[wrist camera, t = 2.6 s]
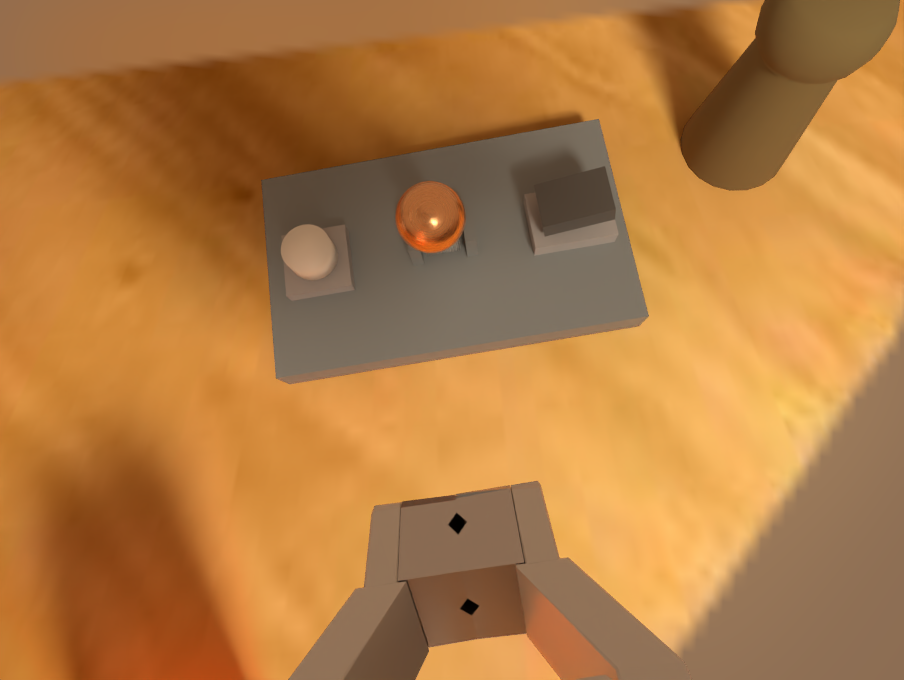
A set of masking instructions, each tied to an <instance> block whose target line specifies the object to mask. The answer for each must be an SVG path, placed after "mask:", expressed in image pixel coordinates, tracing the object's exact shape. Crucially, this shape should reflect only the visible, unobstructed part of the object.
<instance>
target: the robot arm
mask: <svg viewBox="0 0 904 680" xmlns="http://www.w3.org/2000/svg"><path fill="white" fill-rule="evenodd" d="M526 633H527V636H528V638H529V639H530V640H531V641H532V643H533V644H534V645H535V647H536V648H537V649H538V650H539V652H540V653H541V654H542V656H543V657H544V658H545V659H546V661H547V662H548V663H549V664H550V666H551V667H552V668H553V670H554V671H555V672H556V673H557V675H558V676H559V677H560V678H561V680H692V679H691V676H690V674H689V671H688V669H687V666H686V664H685V662H684V661H683V660H682V659H681V658H680V657H679V656H678V655H677V654H675V653H674V652H673V651H672V650H671V649H670V648H669V647H668V646H667V645H665V644H664V643H663V642H662V641H661V640H660V639H659V638H658V637H656V636H655V635H654V634H653V633H652V632H651V631H650V630H649V629H648V628H646V627H645V626H644V625H643V624H642V623H641V622H640V621H639V620H638V619H636V618H635V617H634V616H633V615H632V614H631V613H630V612H629V611H627V610H626V609H625V608H624V607H623V606H622V605H621V604H620V603H619V602H617V601H616V600H615V599H614V598H613V597H612V596H611V595H610V594H609V593H607V592H606V591H605V590H604V589H603V588H602V587H601V586H600V585H598V584H597V583H596V582H595V581H594V580H593V579H592V578H591V577H590V576H588V575H587V574H586V573H585V572H584V571H583V570H582V569H581V568H580V567H578V566H577V565H576V564H575V563H574V562H573V561H572V560H571V559H569V558H559V554H558V551H557V547H556V543H555V539H554V535H553V531H552V527H551V523H550V519H549V516H548V512H547V508H546V504H545V500H544V496H543V492H542V488H541V485H540V483H539V482H538V481H534V482H528V483H521V484H515V485H511V488H510V485H508V486H502V487H496V488H490V489H484V490H478V491H472V492H466V493H460V494H456V495H450V496H442V497H435V498H427V499H419V500H411V501H403V502H399V503H391V504H384V505H376V506H375V507H374V509H373V511H372V514H371V524H370V534H369V543H368V553H367V563H366V572H365V582H364V587H363V588H357V589H355V590H354V592H353V593H352V594H351V596H350V597H349V598H348V600H347V601H346V602H345V604H344V605H343V606H342V608H341V609H340V610H339V612H338V613H337V615H336V616H335V617H334V619H333V620H332V621H331V623H330V624H329V625H328V627H327V628H326V629H325V631H324V632H323V633H322V635H321V636H320V637H319V639H318V640H317V642H316V643H315V644H314V646H313V647H312V648H311V650H310V651H309V652H308V654H307V655H306V656H305V658H304V659H303V660H302V662H301V663H300V665H299V666H298V667H297V669H296V670H295V671H294V673H293V674H292V675H291V677H290V678H289V679H288V680H415V679H416V677H417V675H418V673H419V671H420V669H421V667H422V664H423V662H424V660H425V658H426V656H427V654H428V652H429V649H428V647H434V646H439V645H445V644H451V643H457V642H463V641H469V640H474V639H482V638H491V637H500V636H508V635H517V634H526Z"/></svg>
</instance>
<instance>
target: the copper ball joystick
mask: <svg viewBox="0 0 904 680" xmlns="http://www.w3.org/2000/svg"><path fill="white" fill-rule="evenodd" d="M395 220H396V226H397V229H398V232H399V234H400V236H401V237H402V239H403V240H404V241H405V242H406V243H407V244H408V245H409V246H410V247H412V248H413V249H415V250H417V251H420V252H423V253H427V255H434V254H440V253H446V252H452V251H457V250H461V248H460V241H459V238H460V236H461V235H462V233H463V230H464V227H465V222H466V213H465V208H464V205H463V202H462V200H461V199H460V197H459V196H458V194H457V193H456V192H455V191H454V190H453V189H452V188H450V187H449V186H447V185H445V184H443V183H440V182H435V181H426V182H421V183H418V184H415V185H414V186H412V187H410V188H409V189H408V190H407V191H406V192H405V193H404V194H403V195H402V197H401V198H400V200H399V202H398V204H397V208H396V213H395Z"/></svg>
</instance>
